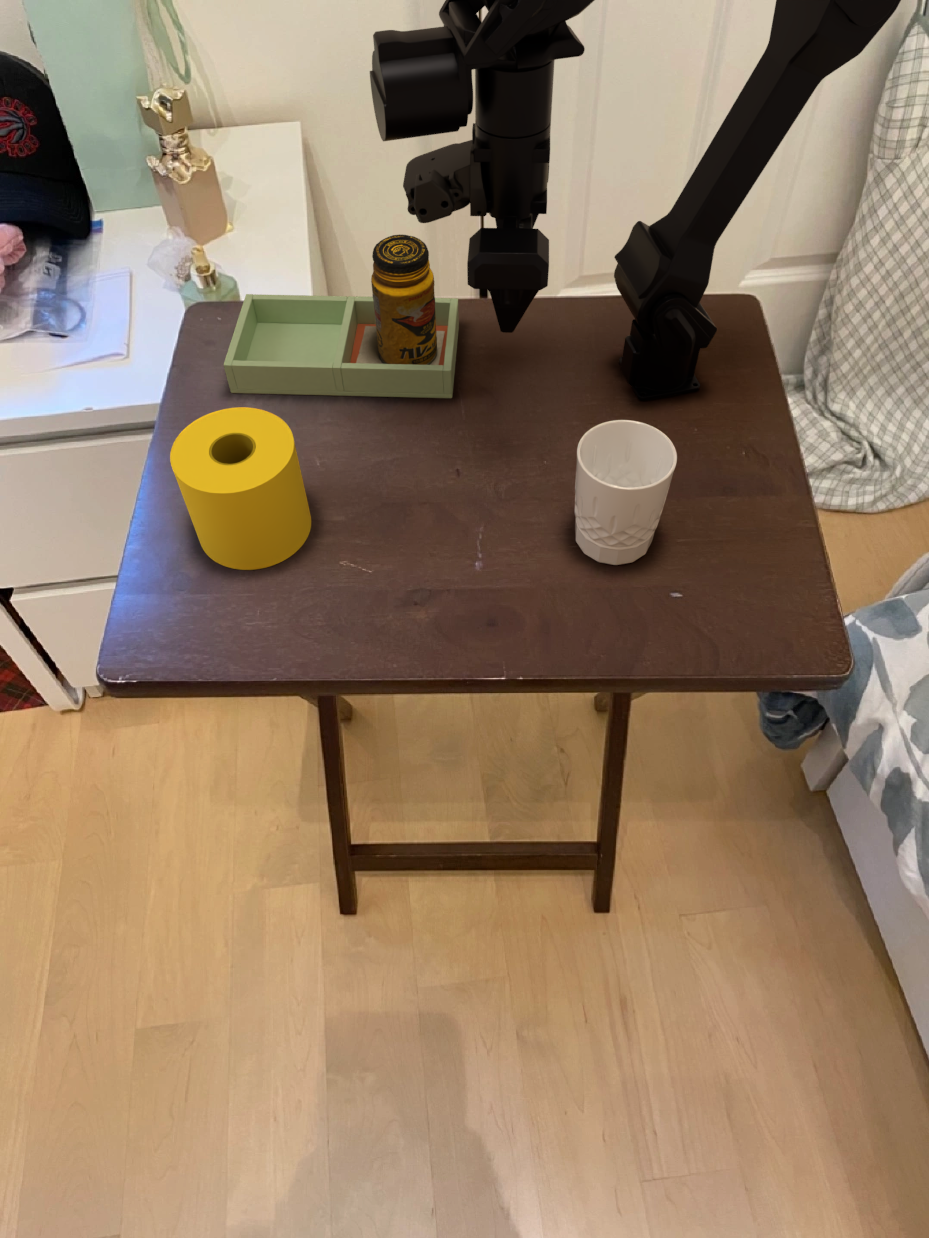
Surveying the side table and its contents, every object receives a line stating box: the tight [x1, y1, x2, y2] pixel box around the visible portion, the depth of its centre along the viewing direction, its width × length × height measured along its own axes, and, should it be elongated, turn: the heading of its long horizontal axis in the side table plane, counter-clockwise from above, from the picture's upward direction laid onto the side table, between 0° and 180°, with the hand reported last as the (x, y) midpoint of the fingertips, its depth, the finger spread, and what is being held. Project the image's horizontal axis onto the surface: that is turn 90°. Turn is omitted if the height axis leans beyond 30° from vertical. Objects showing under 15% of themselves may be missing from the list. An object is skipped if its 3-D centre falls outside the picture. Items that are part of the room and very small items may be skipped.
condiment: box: [356, 234, 445, 365], centre depth 92 cm, size 7×8×12 cm
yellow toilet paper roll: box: [169, 406, 312, 571], centre depth 80 cm, size 10×10×9 cm
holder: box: [222, 293, 460, 399], centre depth 96 cm, size 22×12×4 cm, turn 87°
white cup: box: [574, 419, 678, 566], centre depth 78 cm, size 8×8×10 cm
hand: (508, 299), depth 83 cm, fingers open, 9 cm apart
